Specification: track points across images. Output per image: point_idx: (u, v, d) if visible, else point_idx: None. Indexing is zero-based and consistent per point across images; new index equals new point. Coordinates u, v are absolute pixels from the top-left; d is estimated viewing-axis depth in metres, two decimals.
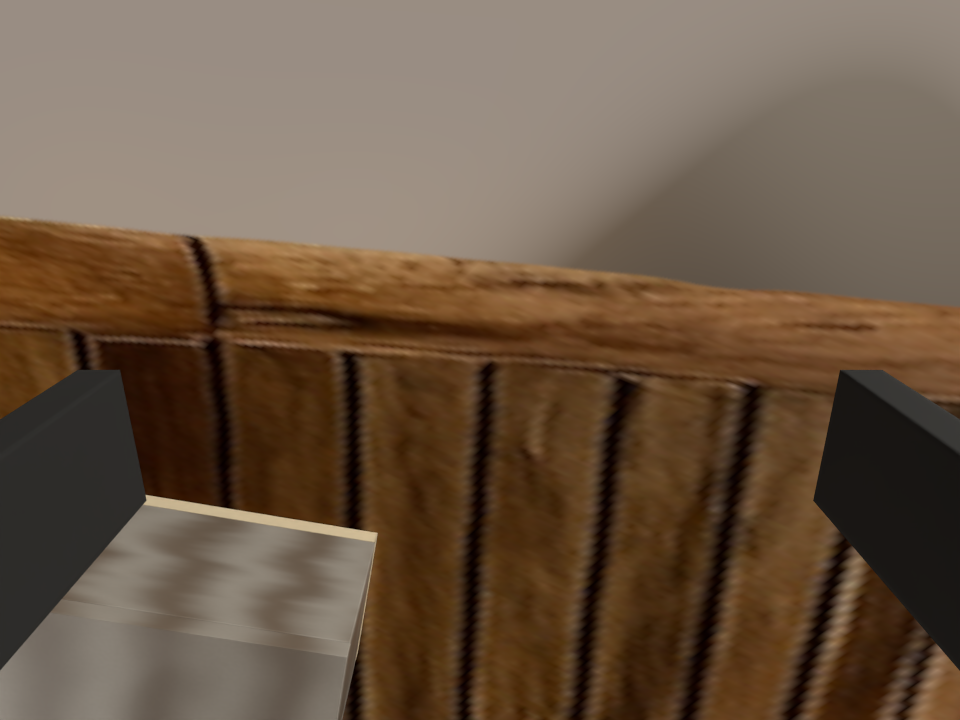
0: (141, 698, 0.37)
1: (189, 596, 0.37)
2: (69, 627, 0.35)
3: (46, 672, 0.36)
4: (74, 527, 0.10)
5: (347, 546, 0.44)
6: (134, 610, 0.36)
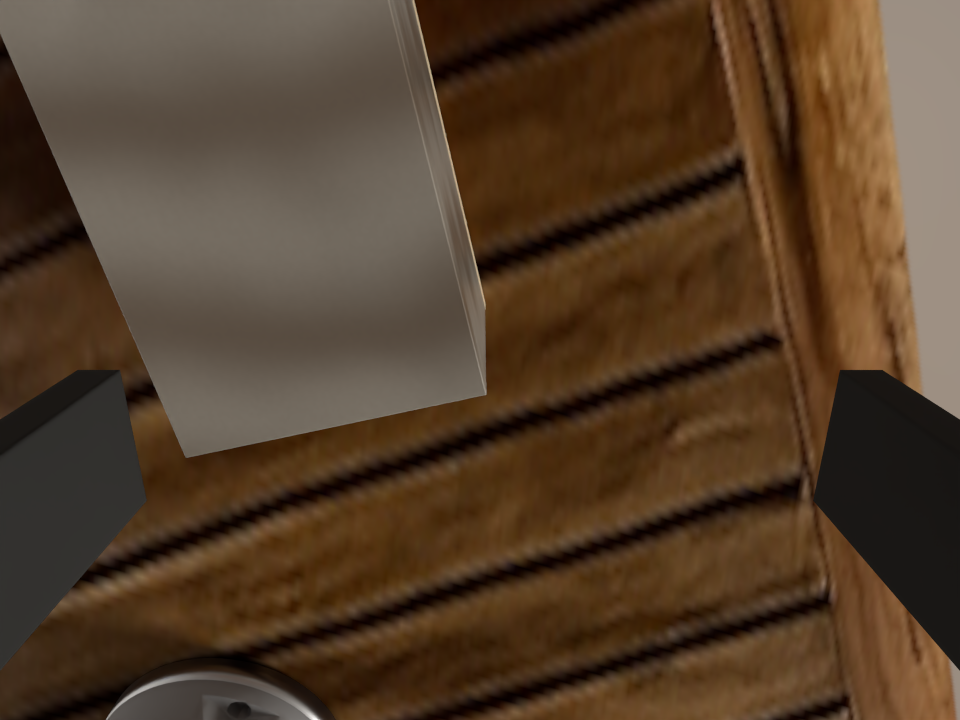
0: (222, 87, 0.19)
1: (420, 96, 0.21)
2: None
3: None
4: (74, 527, 0.10)
5: (476, 278, 0.30)
6: (395, 10, 0.19)
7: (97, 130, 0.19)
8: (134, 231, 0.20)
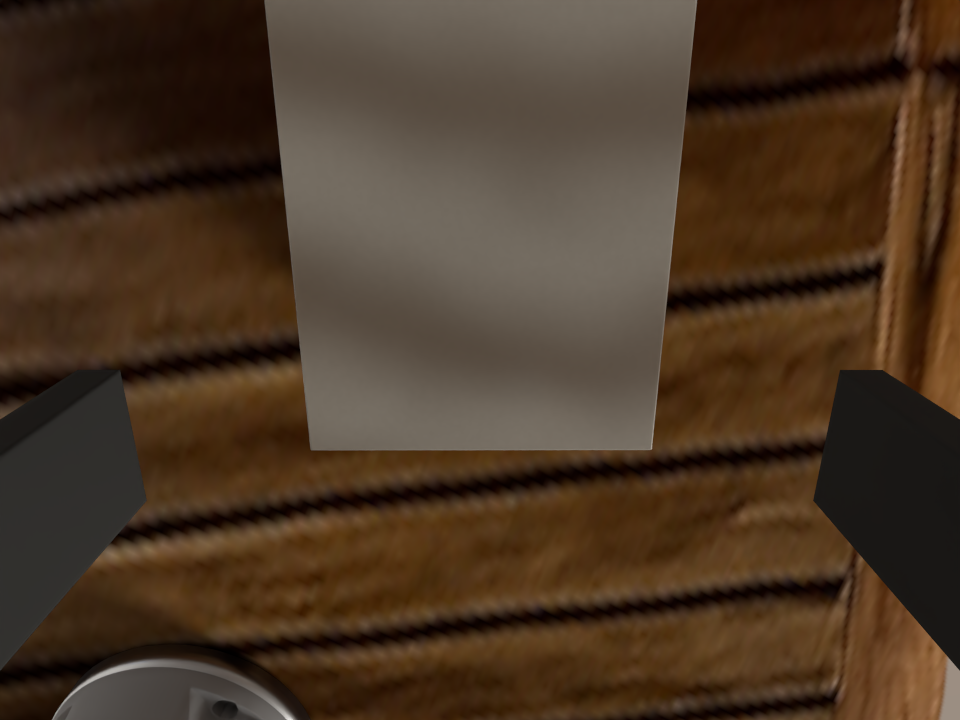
0: (487, 70, 0.17)
1: None
2: None
3: None
4: (74, 527, 0.10)
5: None
6: None
7: (333, 82, 0.17)
8: (336, 200, 0.18)
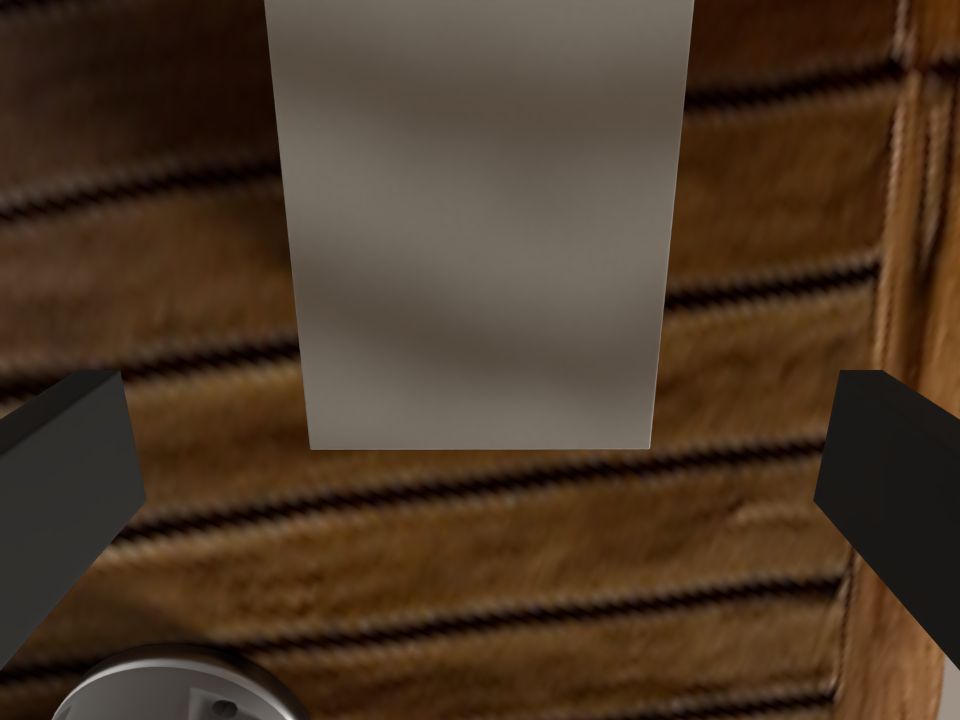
0: (485, 71, 0.17)
1: None
2: None
3: None
4: (74, 527, 0.10)
5: None
6: None
7: (333, 83, 0.17)
8: (336, 200, 0.18)
